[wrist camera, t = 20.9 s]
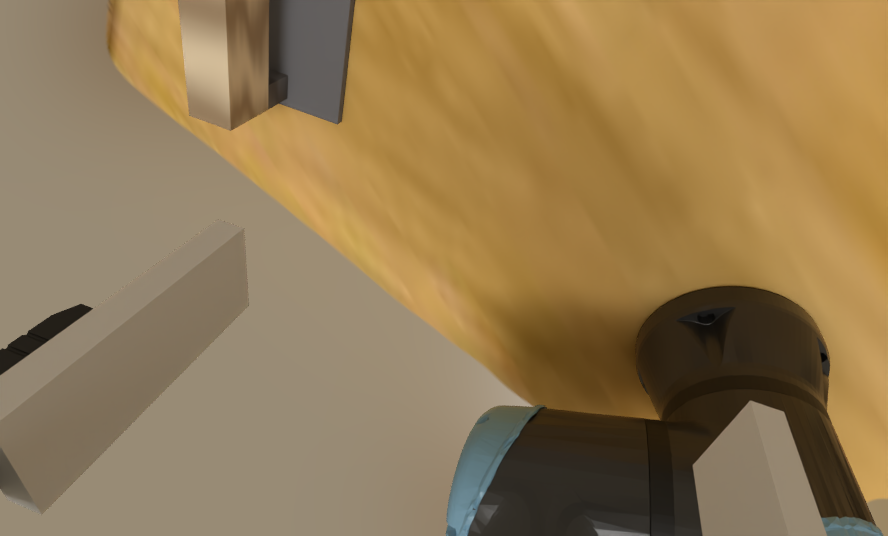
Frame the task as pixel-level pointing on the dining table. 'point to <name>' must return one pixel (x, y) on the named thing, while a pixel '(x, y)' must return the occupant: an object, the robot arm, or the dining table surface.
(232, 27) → the push tool
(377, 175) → the dining table surface
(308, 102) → the mat
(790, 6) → the dining table surface
